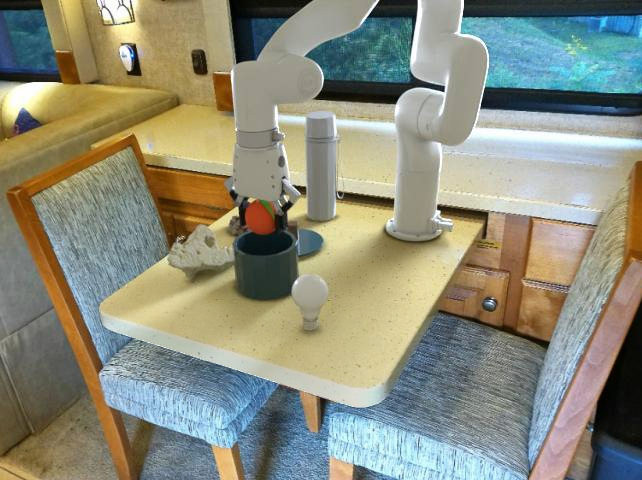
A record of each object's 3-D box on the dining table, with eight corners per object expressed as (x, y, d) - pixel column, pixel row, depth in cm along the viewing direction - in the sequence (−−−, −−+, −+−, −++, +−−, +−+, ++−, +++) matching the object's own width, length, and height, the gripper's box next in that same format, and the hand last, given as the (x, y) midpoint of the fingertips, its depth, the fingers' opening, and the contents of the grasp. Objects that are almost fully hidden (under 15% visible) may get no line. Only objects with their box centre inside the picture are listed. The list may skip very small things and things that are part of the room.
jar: (309, 276, 123) (308, 235, 118) (277, 306, 114) (275, 263, 109) (258, 263, 129) (255, 223, 124) (224, 291, 120) (219, 249, 115)
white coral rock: (224, 258, 136) (166, 227, 130) (242, 241, 132) (183, 207, 125) (214, 310, 127) (152, 279, 120) (234, 294, 122) (169, 260, 115)
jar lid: (334, 239, 137) (334, 216, 134) (305, 265, 127) (304, 241, 124) (283, 228, 143) (282, 206, 140) (252, 252, 134) (250, 229, 131)
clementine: (291, 236, 114) (289, 201, 110) (259, 246, 111) (257, 211, 107) (270, 222, 120) (268, 188, 116) (240, 231, 117) (236, 197, 113)
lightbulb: (286, 326, 109) (283, 273, 103) (315, 315, 111) (314, 263, 105) (305, 343, 104) (303, 289, 98) (335, 331, 106) (335, 278, 100)
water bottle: (305, 223, 145) (302, 119, 132) (308, 209, 152) (305, 110, 138) (343, 223, 144) (344, 119, 130) (344, 210, 150) (345, 109, 137)
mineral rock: (218, 224, 142) (237, 204, 146) (222, 237, 145) (241, 218, 149) (253, 235, 136) (273, 214, 140) (257, 249, 140) (276, 228, 143)
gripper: (310, 136, 104) (312, 228, 114) (229, 125, 112) (237, 212, 122) (289, 149, 99) (292, 244, 108) (205, 137, 107) (215, 226, 116)
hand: (263, 227), depth 115 cm, fingers closed on clementine, 7 cm apart
